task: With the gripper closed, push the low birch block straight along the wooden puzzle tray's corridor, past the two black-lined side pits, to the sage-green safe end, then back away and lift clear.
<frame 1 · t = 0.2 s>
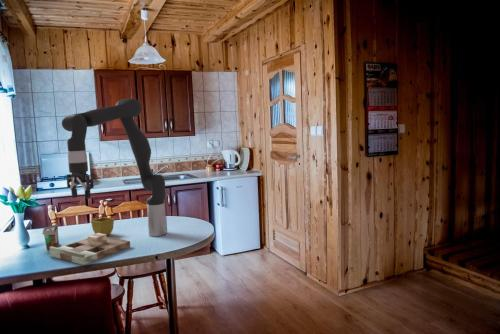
hand: (81, 197, 162), 29 cm above the table, fingers open, 8 cm apart
block: (97, 243, 180), point 3 cm above the table, touching wooden puzzle tray
wooden puzzle tray: (91, 251, 177), on the table
flower pot: (103, 235, 204), on the table
food container: (51, 247, 186), on the table
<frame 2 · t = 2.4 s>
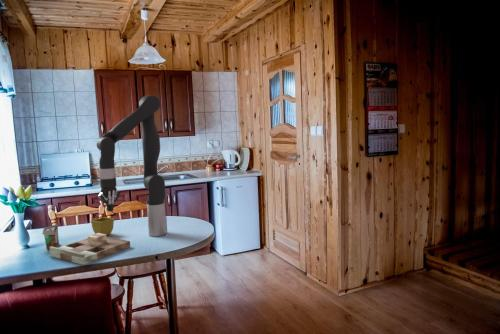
hand: (110, 211, 186), 17 cm above the table, fingers closed
nothing on the table moved.
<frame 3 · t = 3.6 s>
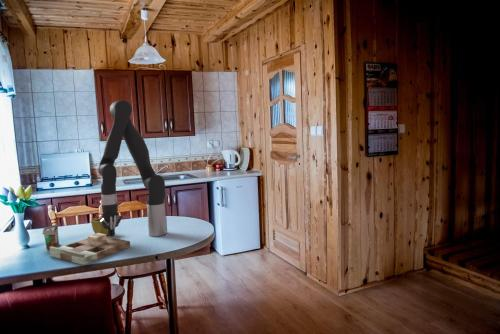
hand: (111, 236, 187), 4 cm above the table, fingers closed
nothing on the table moved.
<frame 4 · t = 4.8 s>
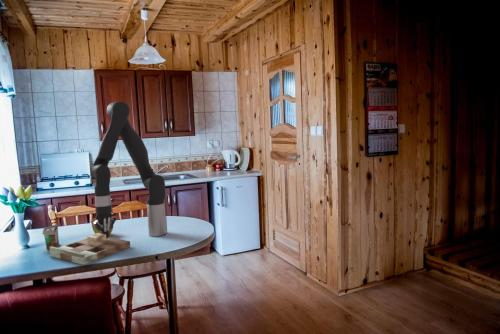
hand: (105, 238, 184), 4 cm above the table, fingers closed
block: (97, 243, 180), point 3 cm above the table, touching wooden puzzle tray, gripper
everything else where it was.
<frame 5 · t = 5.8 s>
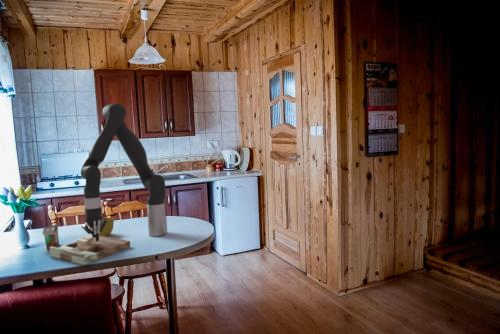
hand: (95, 241, 179), 4 cm above the table, fingers closed
block: (86, 246, 175), point 3 cm above the table, touching wooden puzzle tray, gripper
everything else where it was.
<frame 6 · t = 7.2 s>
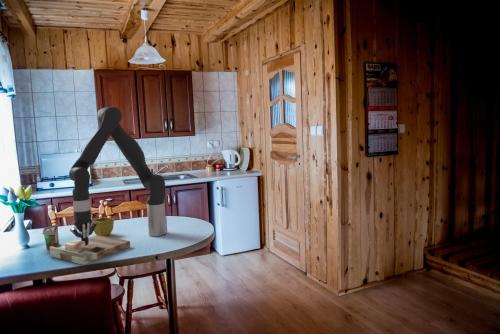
hand: (85, 245, 174), 4 cm above the table, fingers closed
block: (75, 250, 170), point 3 cm above the table, touching wooden puzzle tray
everything else where it was.
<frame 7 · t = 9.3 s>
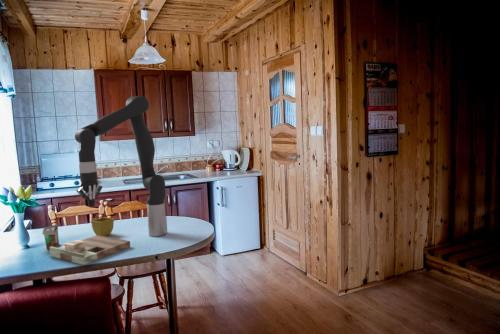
hand: (91, 206, 177), 22 cm above the table, fingers closed
nothing on the table moved.
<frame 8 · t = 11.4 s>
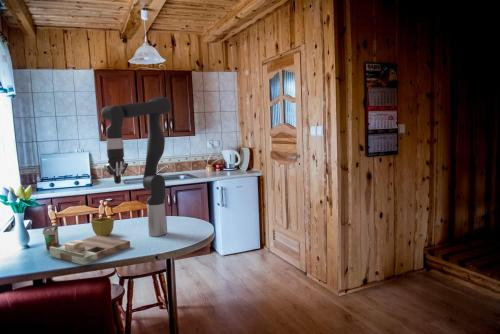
hand: (117, 183, 178), 32 cm above the table, fingers closed
nothing on the table moved.
at the end: block 0.6 cm from the target spot on the wooden puzzle tray, point 3.0 cm above the wooden puzzle tray's base; block tilted 0° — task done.
